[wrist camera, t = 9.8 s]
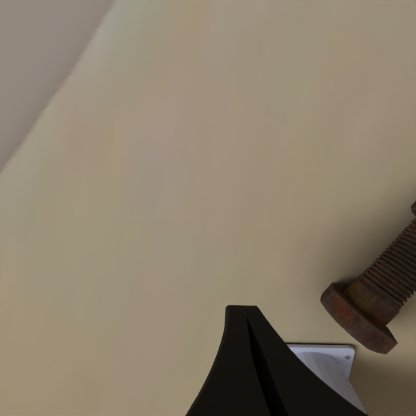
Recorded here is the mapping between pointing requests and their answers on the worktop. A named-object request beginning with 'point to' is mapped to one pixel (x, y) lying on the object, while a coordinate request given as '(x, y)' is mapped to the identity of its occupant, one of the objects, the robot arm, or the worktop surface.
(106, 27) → the worktop surface
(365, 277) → the bolt
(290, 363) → the robot arm
